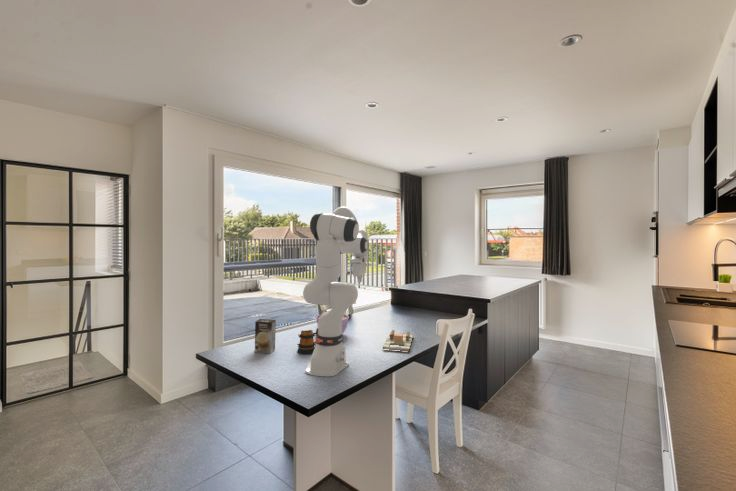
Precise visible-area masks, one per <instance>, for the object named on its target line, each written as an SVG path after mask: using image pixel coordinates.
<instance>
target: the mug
mask: <svg viewBox="0 0 736 491" xmlns="http://www.w3.org/2000/svg"><path fill="white" fill-rule="evenodd" d="M317 335H318V327H317V328H316V330H315V332H314V331H313V330H312V329H308V330H302V329H301V331H300V334H297V336H298V338H299V339H300V340H299V343H297V344H296V345H297V350H296V353H297V354H299V355H305V356H306V355H307V356H308V355H312V354H313V351H314V348H315V346H316V344H317V343H316V342H315V341H314V340H315V339H316V338H317ZM314 337H315V339H314Z"/></svg>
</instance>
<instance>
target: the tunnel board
mask: <svg viewBox="0 0 736 491" xmlns="http://www.w3.org/2000/svg"><path fill="white" fill-rule="evenodd" d="M395 333H396V332H395V329H391V332H390V333H389V334H388V336H387V338H386V340H385V342H384V343H383V346H382V350H383V349H389V350H400V351H409V349H410V350H411V347H412V343H413V340H412V338H413V339H414V334H412V333H411V332H410V330H407V332H406V333H400V332H397V333H398V334H403V342H402V343H394V335H395ZM411 342H412V343H411ZM390 345H399V346H404V348H401V347H390ZM410 346H411V347H410ZM409 352H410V351H409Z"/></svg>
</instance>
